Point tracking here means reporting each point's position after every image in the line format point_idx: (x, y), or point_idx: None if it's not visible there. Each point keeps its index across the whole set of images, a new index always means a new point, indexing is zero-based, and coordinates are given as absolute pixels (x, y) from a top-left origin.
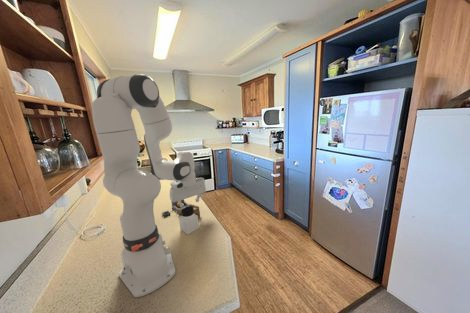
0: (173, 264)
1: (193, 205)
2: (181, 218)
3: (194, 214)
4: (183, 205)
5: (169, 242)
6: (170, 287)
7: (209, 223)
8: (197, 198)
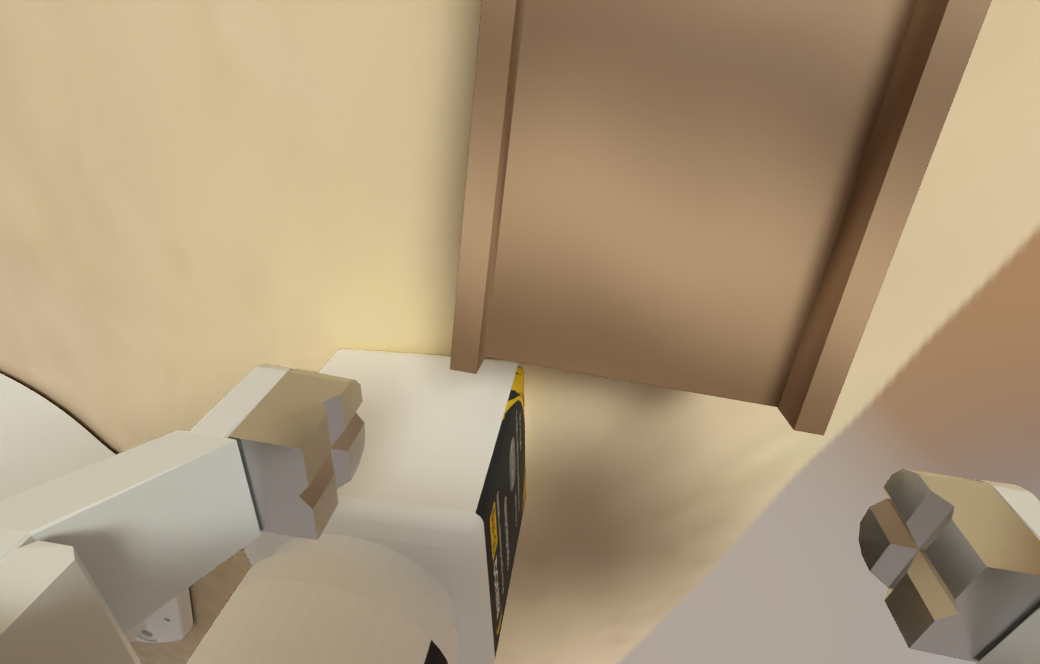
0: (177, 615)
1: (903, 135)
2: (248, 553)
3: (469, 633)
4: (333, 492)
5: (186, 425)
6: (162, 645)
7: (664, 526)
8: (1017, 641)
